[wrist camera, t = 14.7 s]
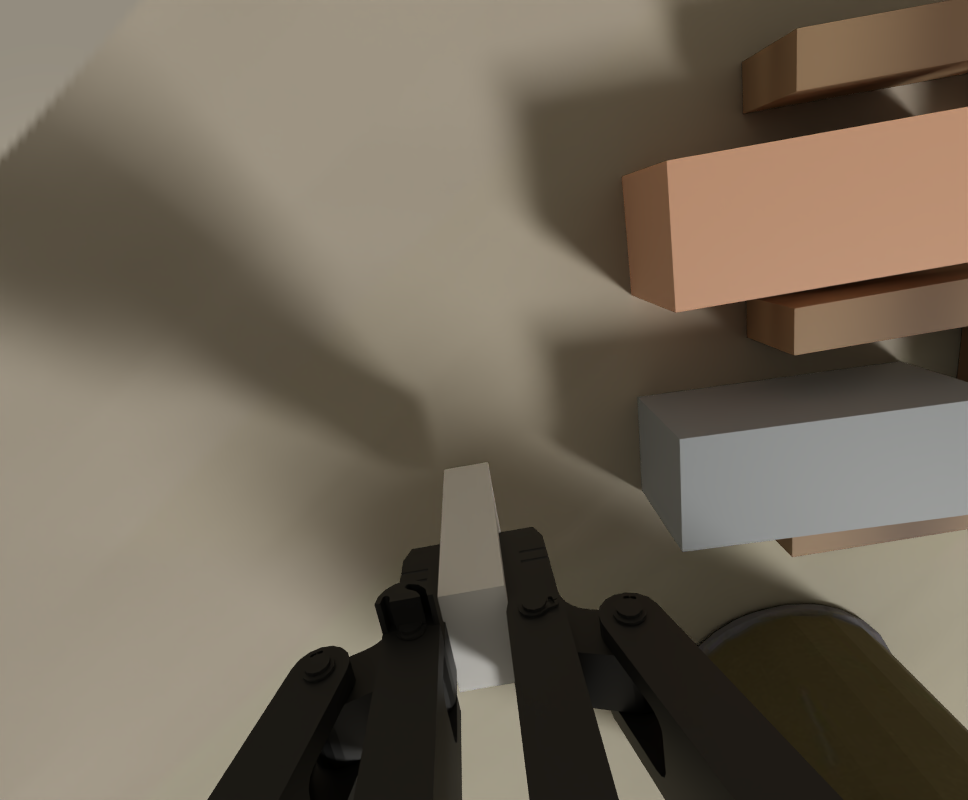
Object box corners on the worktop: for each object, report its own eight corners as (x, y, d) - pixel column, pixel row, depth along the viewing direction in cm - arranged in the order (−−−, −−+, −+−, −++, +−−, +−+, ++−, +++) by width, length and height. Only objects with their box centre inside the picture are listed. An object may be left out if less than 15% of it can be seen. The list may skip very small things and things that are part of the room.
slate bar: (640, 488, 22) (682, 551, 18) (636, 395, 21) (680, 439, 16) (887, 456, 22) (989, 511, 17) (897, 360, 20) (1010, 395, 16)
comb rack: (750, 514, 22) (792, 557, 19) (742, 62, 17) (796, 28, 14) (983, 477, 22) (1060, 514, 19) (1043, 6, 17) (1161, -39, 14)
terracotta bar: (629, 294, 19) (675, 312, 15) (620, 177, 18) (666, 160, 14) (907, 246, 19) (1033, 251, 15) (915, 124, 18) (1056, 90, 14)
